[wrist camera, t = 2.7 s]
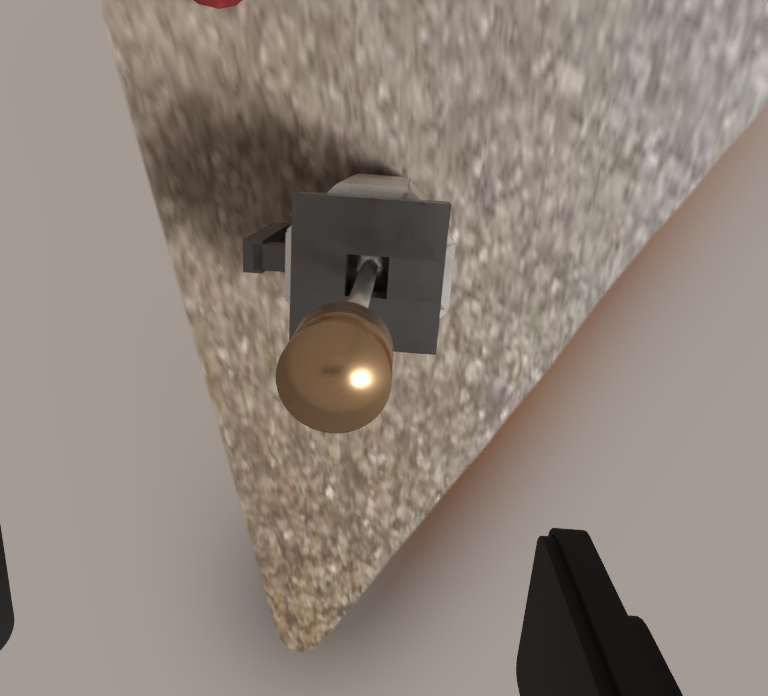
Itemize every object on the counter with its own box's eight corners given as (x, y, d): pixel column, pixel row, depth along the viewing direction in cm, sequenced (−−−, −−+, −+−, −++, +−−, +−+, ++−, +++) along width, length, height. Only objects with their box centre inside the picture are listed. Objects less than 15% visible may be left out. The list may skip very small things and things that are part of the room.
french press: (445, 179, 47) (463, 193, 32) (434, 301, 50) (444, 365, 35) (282, 167, 47) (225, 176, 33) (280, 290, 50) (228, 348, 36)
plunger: (428, 214, 36) (450, 284, 18) (419, 320, 38) (429, 482, 20) (318, 207, 36) (226, 268, 18) (315, 312, 38) (229, 466, 20)
